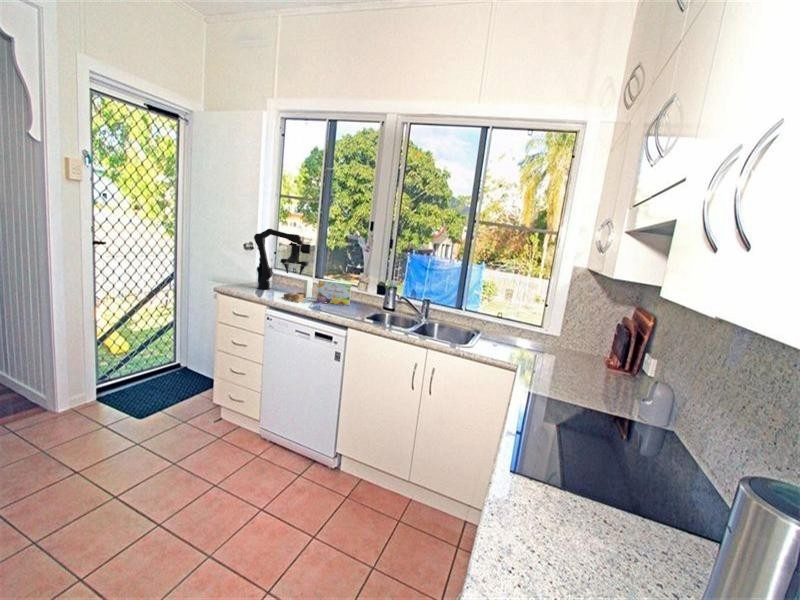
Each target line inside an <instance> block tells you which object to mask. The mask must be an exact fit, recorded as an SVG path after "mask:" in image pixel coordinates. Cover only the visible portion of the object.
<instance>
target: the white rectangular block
mask: <svg viewBox="0 0 800 600" xmlns="http://www.w3.org/2000/svg"><path fill="white" fill-rule="evenodd" d="M313 284H314V280H313V279H304V281H303V292H302V293H304V294H306V298H305V299H307V297H310V298H312V296H313V295H312V294H313V287H314V286H313Z"/></svg>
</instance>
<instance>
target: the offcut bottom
mask: <svg viewBox="0 0 800 600" xmlns="http://www.w3.org/2000/svg"><path fill="white" fill-rule="evenodd" d="M290 300H291V301H290ZM289 301H290V302H293V301H294V302H293V303H298V304H300V303H299V302H301V303H304V302H305V299H294V298H290V297H289Z"/></svg>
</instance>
